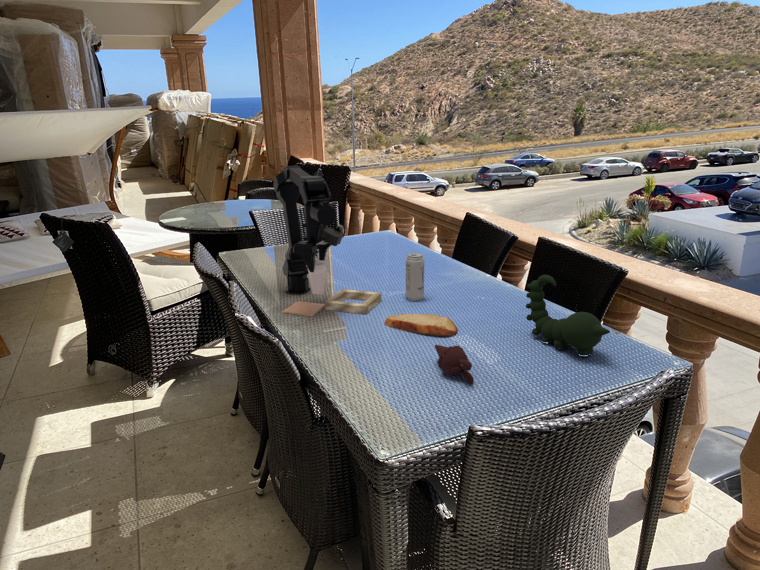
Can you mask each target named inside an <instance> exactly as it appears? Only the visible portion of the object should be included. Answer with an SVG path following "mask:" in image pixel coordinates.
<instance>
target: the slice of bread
mask: <svg viewBox="0 0 760 570" xmlns="http://www.w3.org/2000/svg"><path fill="white" fill-rule="evenodd" d="M383 324H384V326H387V327H389V328H392V329H396V330H399V331H404V332H409V333H415V334H421V335H425V336H435V337H436V336H437V337H453V336H452V335H455V336H457V335H458V333H459V329H458V327H457V326H456V324H455V323H454V321H453V320H452V319H451V318H449V317H446V316H443V315H438V314H437V315H436V314H428V313H421V314H420V313H403V314H402V313H401V314H393V315H389V316H387V317H386V319H385V321H384V323H383ZM457 332H458V333H457ZM456 334H457V335H456Z"/></svg>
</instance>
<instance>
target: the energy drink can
mask: <svg viewBox="0 0 760 570" xmlns="http://www.w3.org/2000/svg"><path fill="white" fill-rule="evenodd" d="M424 297H425V258H424V256H423V254H422V253H417V252H412V253H408V254H407V257H406V258H405V298H407V300H409V301H410V302H419V301H422V300H423V298H424Z"/></svg>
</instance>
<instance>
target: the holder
mask: <svg viewBox="0 0 760 570" xmlns="http://www.w3.org/2000/svg"><path fill="white" fill-rule="evenodd" d="M346 299H349V300H358V301H364V302H363V303H356V302H346V301H344V300H346ZM381 301H382V292H376V291H365V290H357V289H355V290H354V289H346V288H342V289H340V290H339V291H338V292H336V293H334V294H333V295H332V296H331V297H329V298H328V299H326V300H325V301H324V303H323V304H324V305H325V307H324V310H326V311H333V312H342V313H343V312H344V313H351V314H357V315H359V314H360V315H367V314H368V313H369V312H371V311H372V309H373V308H375V307H377V305H378V304H379V303H380V302H381Z"/></svg>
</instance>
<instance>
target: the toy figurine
mask: <svg viewBox="0 0 760 570" xmlns="http://www.w3.org/2000/svg"><path fill="white" fill-rule="evenodd" d="M548 283H549V284H551V285H552V286H553V287H556V286H557V282H556V280H555V278H554V277H553V276H551V275H548V274H542V275H541V276H539V277H538V278H537V279H536V280H535V279H534V280H532V281H531V282H530V283H527V285H526V286H527V288H528V289H529V290H530V292H527V293H526V294H525V297H526V298H527V299H530V301H529V303H526V304H525V308H526V309H529V310H530V314H527V315H526V320H527V321H529V322H531V321H532V322H534V326H535V328H533V329H531V333H532V335H534V336H535V337H536V336H539V335H540V334H541V335H542V338H541V342H542V341H543V342H550V341H552V342H550V343H553V346H554V347H555V348H556V347H557V348H556V349H558V348H561V349H562V348H564V347H565V346H570V347H571V348H573V349H576V350H577V351H576V353H577V355H578V354H580V355H589V354H591V355H592V354H594V348H595V347H596V346H597V345H598V344H599V343H601V342H602V337H603V336H605V335H608V334H610V333H611V331H610V330H609V329H608V328H605V327H603V326H602V323H601V321H600V320H599V319H598V318H597V316H595V315H594V314H592V313H591V312H586V311H579V312H574V313H572V314H570V315H569V316H568V317H566V318H560V319H557V318H552V317H551V316H550V315H549V312H548V310H547V309H546V308H547V307H546V306H547V304H546V301H545V300H544V299H545V292H544V291H543V288H544V286H545V285H546V284H548ZM543 342H542V343H543Z"/></svg>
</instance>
